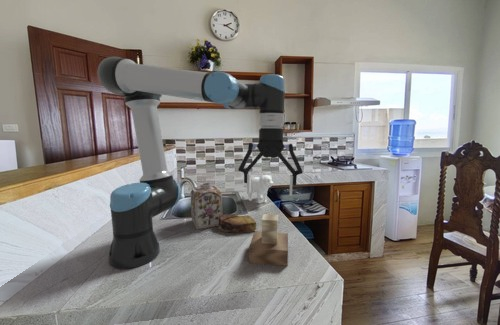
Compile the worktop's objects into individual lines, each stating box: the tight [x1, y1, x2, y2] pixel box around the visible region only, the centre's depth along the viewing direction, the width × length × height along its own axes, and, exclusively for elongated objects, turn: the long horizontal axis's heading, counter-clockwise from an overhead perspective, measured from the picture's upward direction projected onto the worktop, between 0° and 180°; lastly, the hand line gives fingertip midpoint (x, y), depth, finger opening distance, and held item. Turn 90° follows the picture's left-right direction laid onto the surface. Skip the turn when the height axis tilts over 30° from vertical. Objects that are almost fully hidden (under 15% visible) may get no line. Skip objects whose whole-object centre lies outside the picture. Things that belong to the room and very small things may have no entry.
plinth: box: [248, 230, 289, 267], centre depth 77 cm, size 12×12×5 cm
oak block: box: [261, 213, 279, 244], centre depth 76 cm, size 5×5×8 cm
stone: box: [217, 214, 257, 234], centre depth 98 cm, size 15×9×5 cm, turn 100°
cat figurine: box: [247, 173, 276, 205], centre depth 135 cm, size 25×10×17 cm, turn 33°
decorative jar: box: [190, 182, 223, 230], centre depth 103 cm, size 12×12×18 cm
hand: (269, 194), depth 75 cm, fingers open, 13 cm apart
